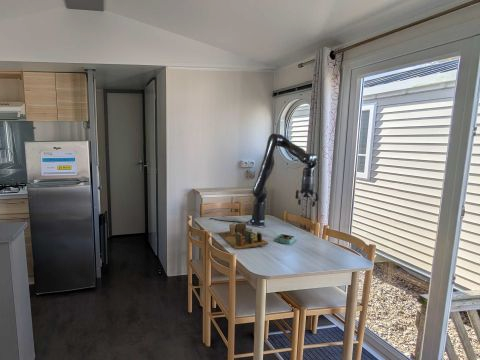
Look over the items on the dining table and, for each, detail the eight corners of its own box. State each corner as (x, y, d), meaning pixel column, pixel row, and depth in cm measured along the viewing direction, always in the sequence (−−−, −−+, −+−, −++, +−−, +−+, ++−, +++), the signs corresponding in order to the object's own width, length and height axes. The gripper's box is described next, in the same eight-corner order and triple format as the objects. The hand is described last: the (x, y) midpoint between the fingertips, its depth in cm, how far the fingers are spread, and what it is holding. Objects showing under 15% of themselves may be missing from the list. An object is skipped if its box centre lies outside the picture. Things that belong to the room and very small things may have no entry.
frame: (287, 242, 201) (288, 238, 200) (278, 240, 204) (279, 237, 204) (291, 239, 207) (291, 235, 206) (282, 237, 211) (282, 234, 210)
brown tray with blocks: (271, 248, 192) (269, 226, 190) (236, 254, 189) (234, 232, 187) (248, 231, 226) (246, 212, 224) (218, 236, 224) (216, 217, 221)
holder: (289, 244, 198) (289, 240, 198) (275, 241, 204) (275, 237, 204) (295, 240, 207) (295, 236, 206) (281, 237, 213) (281, 233, 212)
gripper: (320, 182, 202) (319, 206, 204) (298, 181, 211) (297, 203, 213) (317, 184, 196) (316, 208, 198) (295, 182, 205) (293, 205, 207)
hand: (306, 205), depth 205 cm, fingers open, 8 cm apart
